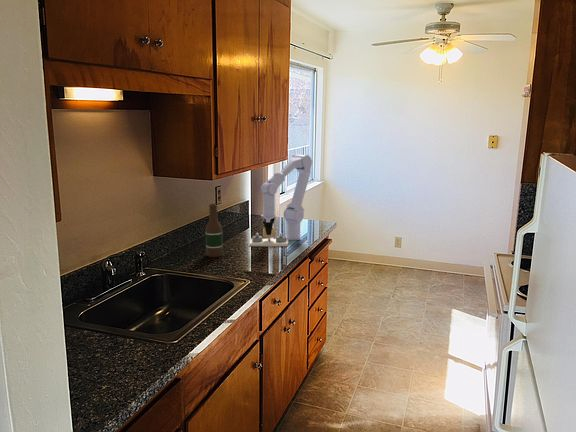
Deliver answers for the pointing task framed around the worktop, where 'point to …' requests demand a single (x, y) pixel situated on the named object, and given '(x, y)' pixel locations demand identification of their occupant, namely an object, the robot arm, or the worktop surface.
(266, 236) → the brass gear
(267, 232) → the robot arm
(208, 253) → the beer bottle
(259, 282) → the worktop surface
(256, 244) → the gear board
